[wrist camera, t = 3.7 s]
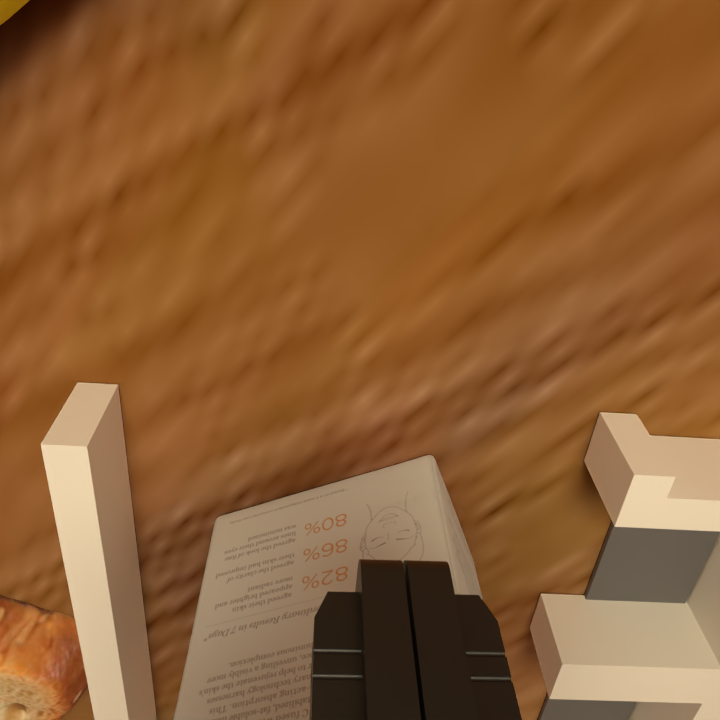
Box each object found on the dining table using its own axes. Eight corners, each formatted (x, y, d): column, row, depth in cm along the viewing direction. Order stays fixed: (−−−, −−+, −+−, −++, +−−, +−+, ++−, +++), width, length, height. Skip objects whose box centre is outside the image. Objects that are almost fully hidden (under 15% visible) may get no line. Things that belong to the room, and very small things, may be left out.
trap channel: (77, 382, 21) (41, 444, 18) (807, 423, 22) (868, 486, 20) (144, 819, 34) (128, 890, 32) (596, 827, 36) (616, 895, 33)
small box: (275, 611, 26) (242, 956, 18) (212, 511, 24) (134, 859, 15) (477, 560, 25) (553, 902, 16) (436, 447, 22) (499, 784, 14)
